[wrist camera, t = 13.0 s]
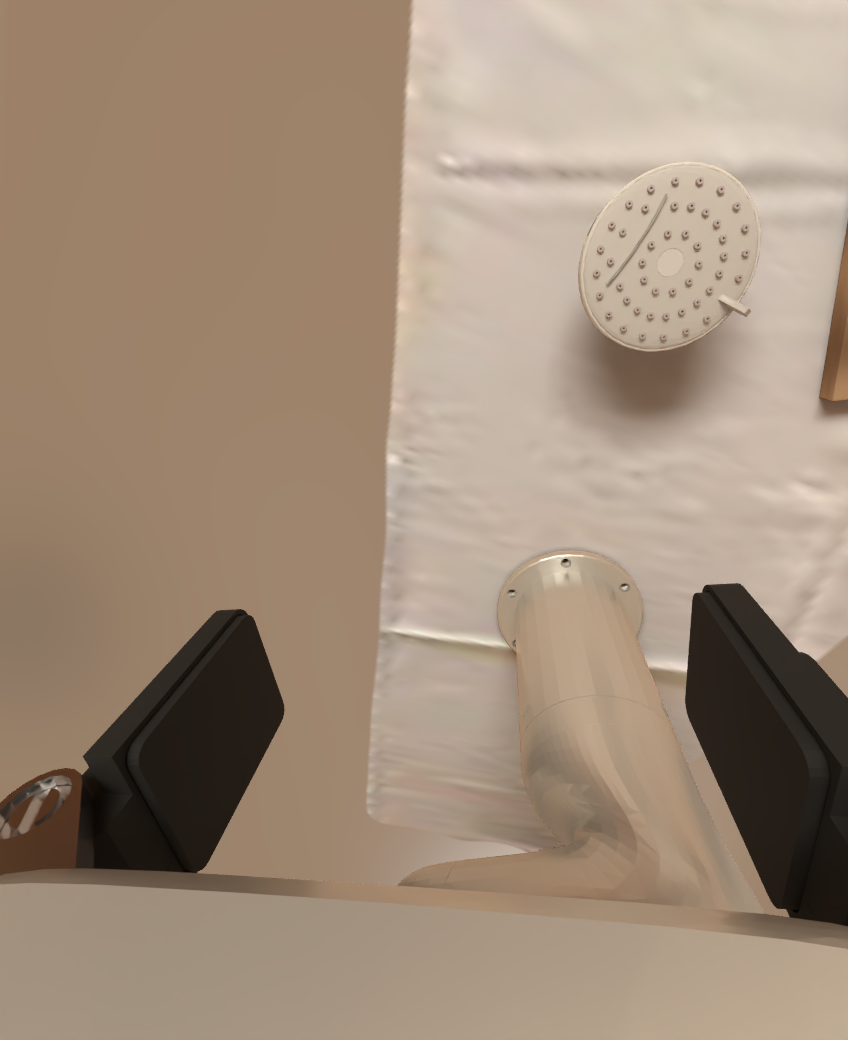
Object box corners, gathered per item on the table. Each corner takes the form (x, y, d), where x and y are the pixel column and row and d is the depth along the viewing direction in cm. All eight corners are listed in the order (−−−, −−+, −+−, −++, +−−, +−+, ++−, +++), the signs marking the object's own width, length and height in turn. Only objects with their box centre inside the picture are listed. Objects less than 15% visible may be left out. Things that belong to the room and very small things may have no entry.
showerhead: (690, 389, 29) (549, 299, 28) (655, 372, 35) (539, 299, 34) (823, 226, 25) (662, 115, 24) (755, 241, 31) (627, 155, 30)
